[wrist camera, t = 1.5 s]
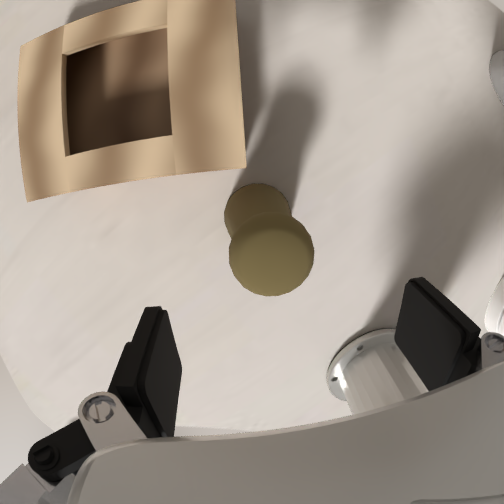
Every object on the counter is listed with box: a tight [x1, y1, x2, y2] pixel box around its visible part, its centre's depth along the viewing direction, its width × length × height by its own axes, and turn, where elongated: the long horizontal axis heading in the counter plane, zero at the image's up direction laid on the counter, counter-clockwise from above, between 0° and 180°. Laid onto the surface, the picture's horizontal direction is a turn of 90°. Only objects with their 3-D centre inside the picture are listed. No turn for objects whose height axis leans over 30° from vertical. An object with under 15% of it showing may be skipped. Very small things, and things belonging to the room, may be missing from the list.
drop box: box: [18, 0, 247, 202], centre depth 19 cm, size 18×14×6 cm
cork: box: [224, 184, 314, 296], centre depth 21 cm, size 6×6×11 cm
